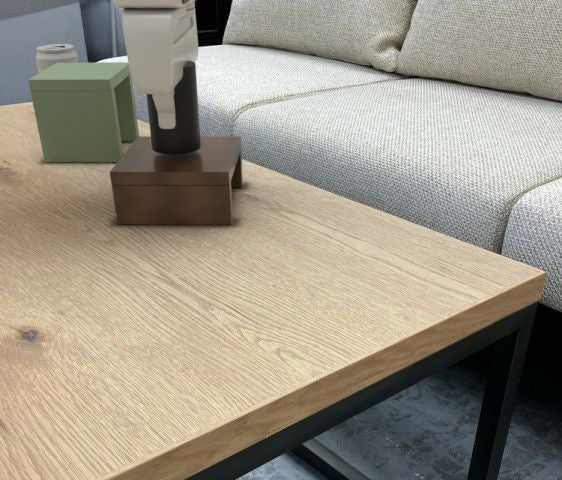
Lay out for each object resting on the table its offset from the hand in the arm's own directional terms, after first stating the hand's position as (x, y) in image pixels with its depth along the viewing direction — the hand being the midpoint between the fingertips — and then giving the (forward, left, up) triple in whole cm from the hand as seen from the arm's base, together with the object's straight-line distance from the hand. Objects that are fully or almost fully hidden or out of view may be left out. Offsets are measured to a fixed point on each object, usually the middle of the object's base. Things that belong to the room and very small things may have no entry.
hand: (174, 119), depth 79 cm
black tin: (0, 0, -3) cm, 3 cm away
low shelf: (0, 0, -10) cm, 10 cm away
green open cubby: (-17, +22, -10) cm, 29 cm away
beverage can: (-25, +36, -10) cm, 45 cm away
